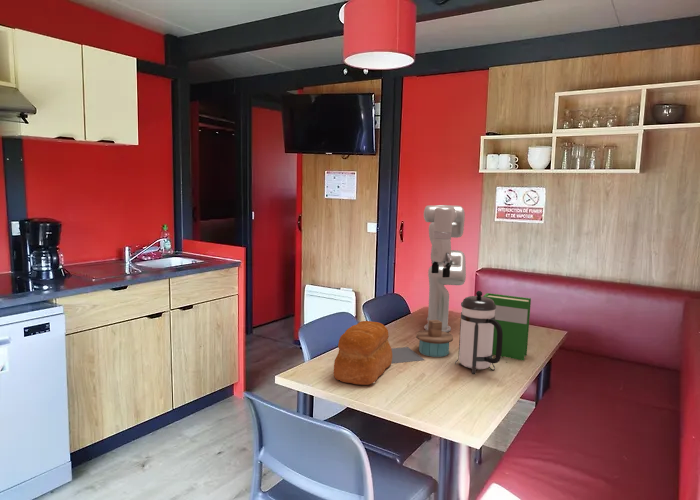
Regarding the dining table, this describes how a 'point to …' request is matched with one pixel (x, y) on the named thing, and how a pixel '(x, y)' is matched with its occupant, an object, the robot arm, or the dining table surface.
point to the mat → (404, 355)
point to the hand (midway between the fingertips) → (440, 275)
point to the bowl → (433, 349)
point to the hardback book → (512, 324)
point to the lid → (434, 334)
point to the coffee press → (478, 333)
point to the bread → (363, 353)
